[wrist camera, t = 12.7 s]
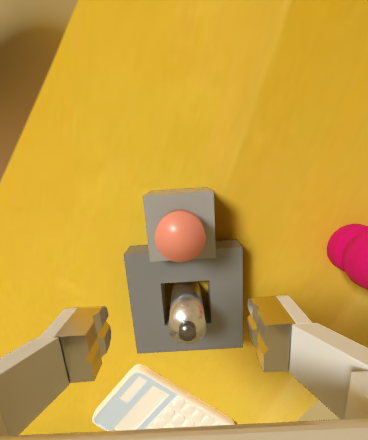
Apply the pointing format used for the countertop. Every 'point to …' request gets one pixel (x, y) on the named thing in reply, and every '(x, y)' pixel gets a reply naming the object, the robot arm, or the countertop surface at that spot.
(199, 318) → the cell
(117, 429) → the calculator
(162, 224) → the plunger
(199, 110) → the countertop surface
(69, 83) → the countertop surface
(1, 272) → the countertop surface
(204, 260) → the grey stepped block frame
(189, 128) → the countertop surface
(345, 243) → the pepper mill
